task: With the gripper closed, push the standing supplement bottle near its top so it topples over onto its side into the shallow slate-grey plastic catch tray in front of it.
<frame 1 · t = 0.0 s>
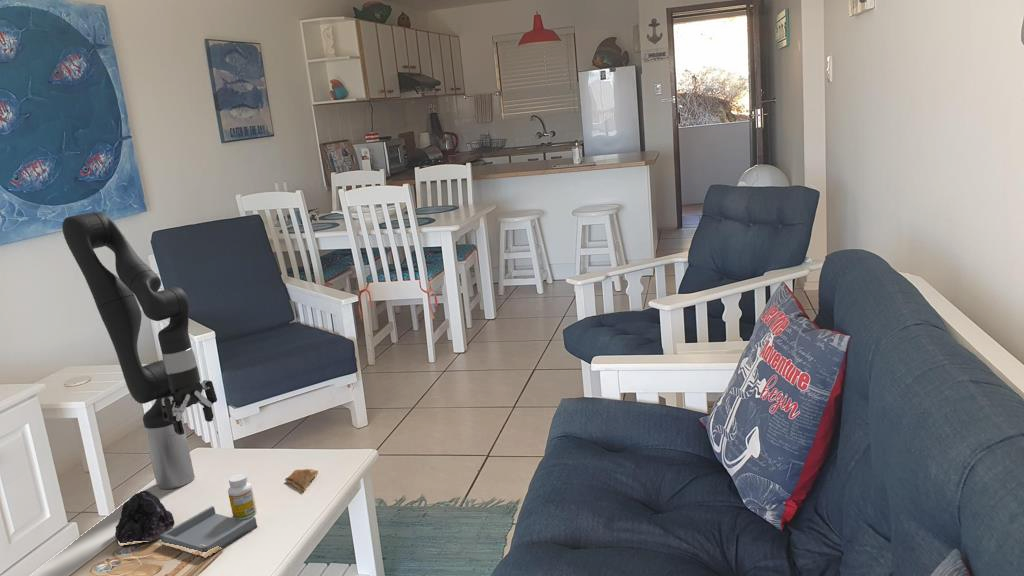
hand: (195, 427, 201), 17 cm above the table, tool pointing down, fingers open, 8 cm apart
crystal cluster: (146, 534, 185), on the table
supplement bottle: (245, 515, 188), on the table
shard: (307, 482, 204), on the table
catch tray: (210, 535, 180), on the table
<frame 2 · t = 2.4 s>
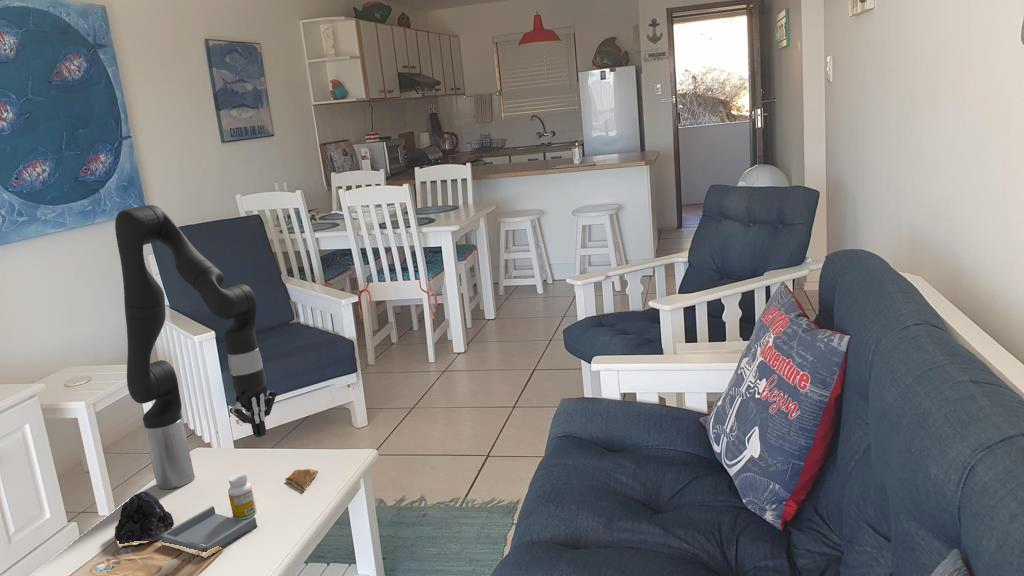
hand: (260, 436, 192), 17 cm above the table, tool pointing down, fingers closed
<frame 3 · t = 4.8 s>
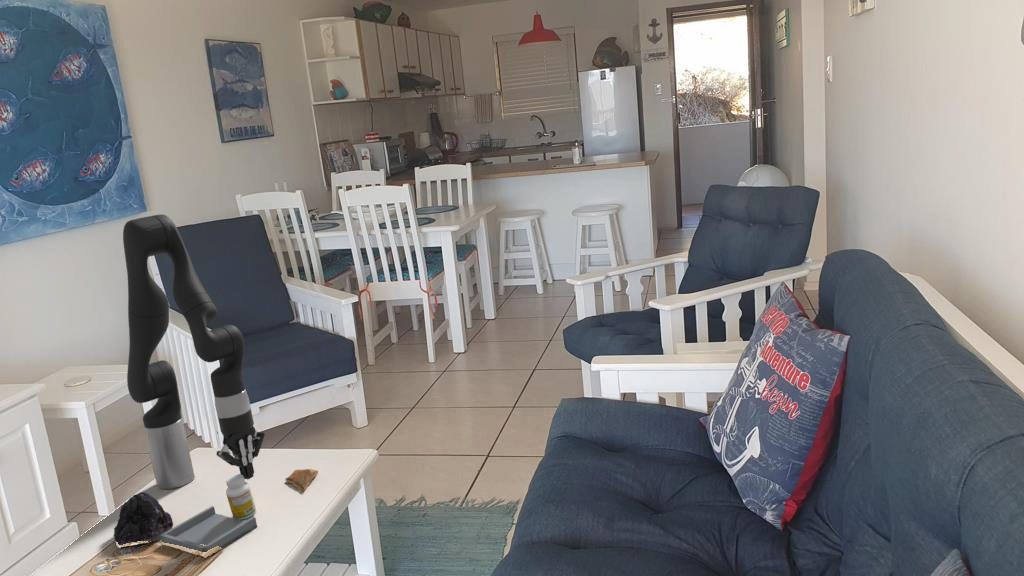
hand: (248, 477, 189), 8 cm above the table, tool pointing down, fingers closed
supplement bottle: (245, 514, 188), on the table, touching gripper
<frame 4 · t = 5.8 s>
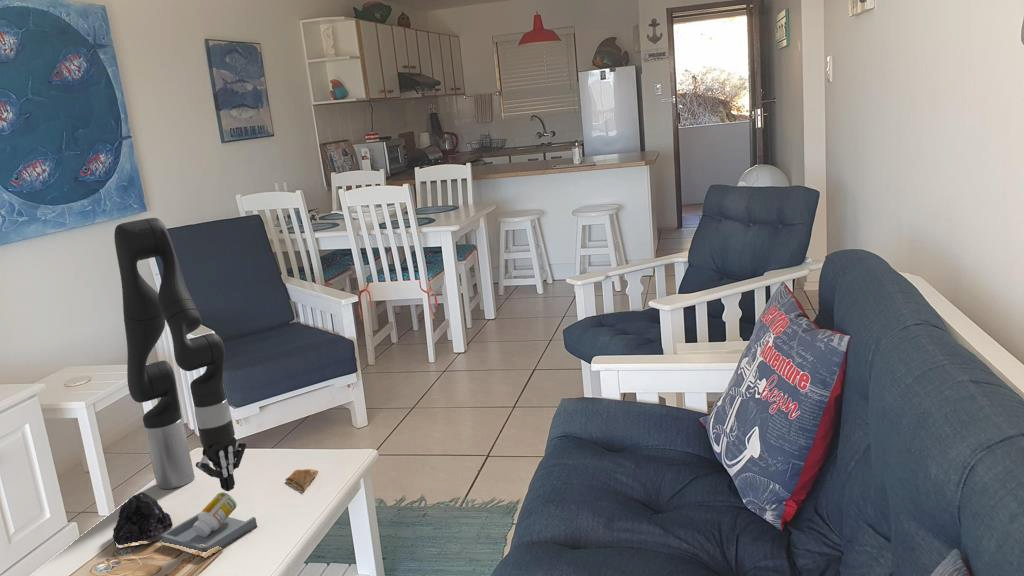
hand: (228, 489, 184), 8 cm above the table, tool pointing down, fingers closed
supplement bottle: (228, 499, 185), point 5 cm above the table, touching catch tray
everything else where it was.
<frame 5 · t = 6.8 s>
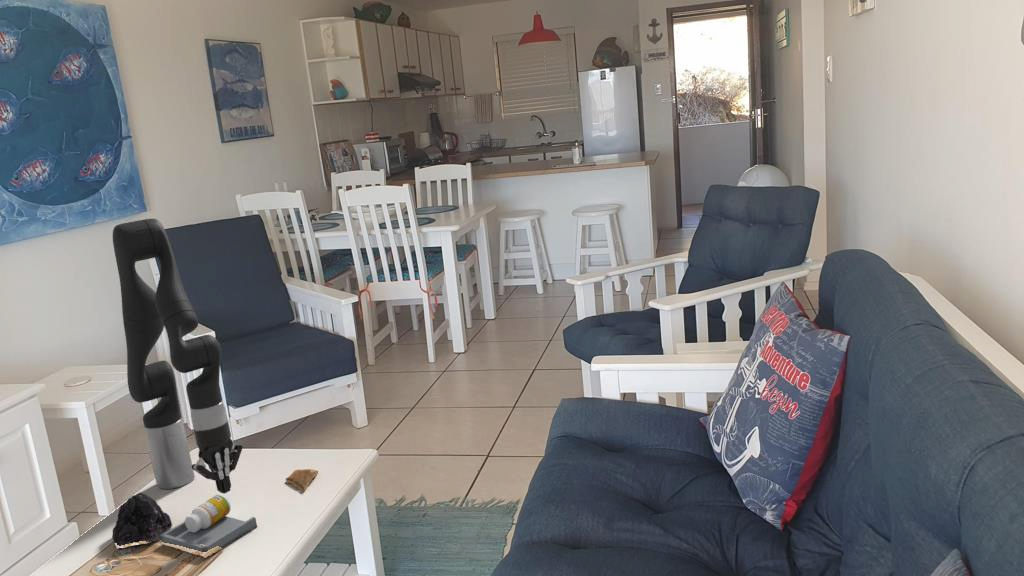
hand: (225, 491, 183), 8 cm above the table, tool pointing down, fingers closed
supplement bottle: (223, 503, 188), point 3 cm above the table, touching catch tray
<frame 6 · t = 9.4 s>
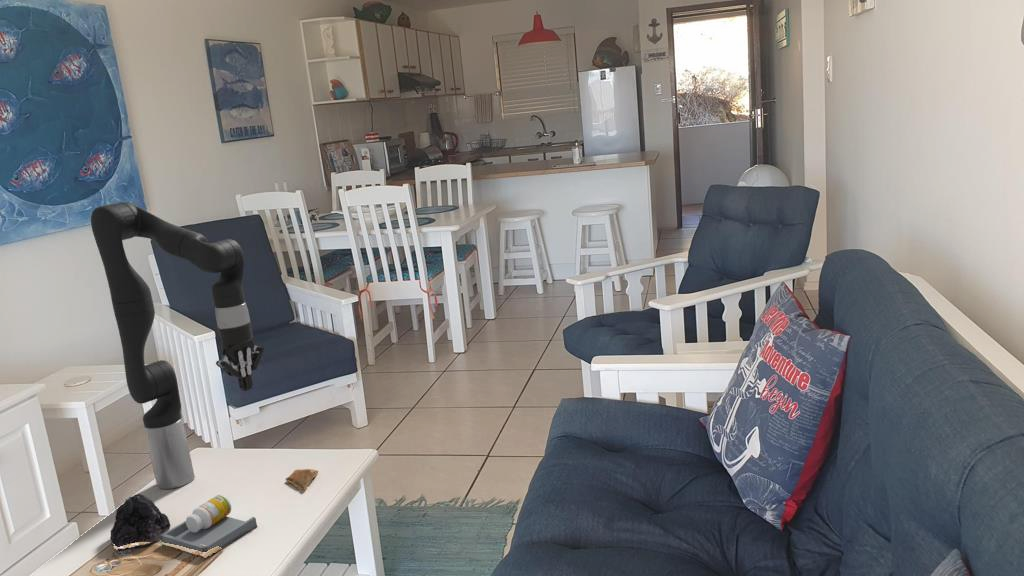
hand: (246, 389, 195), 27 cm above the table, tool pointing down, fingers closed
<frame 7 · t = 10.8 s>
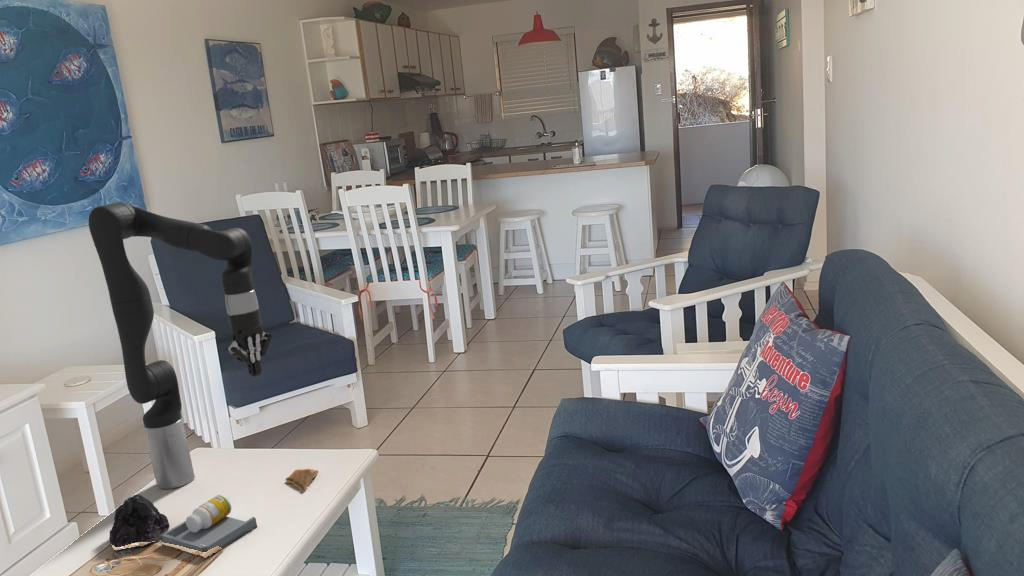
hand: (255, 375, 199), 29 cm above the table, tool pointing down, fingers closed
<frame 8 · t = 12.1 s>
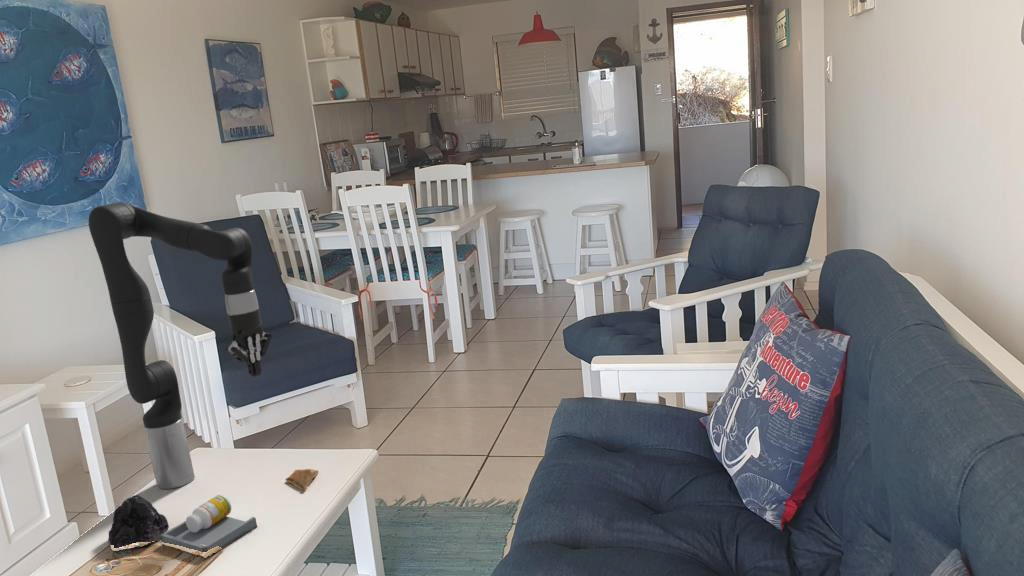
hand: (255, 375, 199), 29 cm above the table, tool pointing down, fingers closed
at the end: supplement bottle tilted 90°; supplement bottle touching catch tray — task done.
